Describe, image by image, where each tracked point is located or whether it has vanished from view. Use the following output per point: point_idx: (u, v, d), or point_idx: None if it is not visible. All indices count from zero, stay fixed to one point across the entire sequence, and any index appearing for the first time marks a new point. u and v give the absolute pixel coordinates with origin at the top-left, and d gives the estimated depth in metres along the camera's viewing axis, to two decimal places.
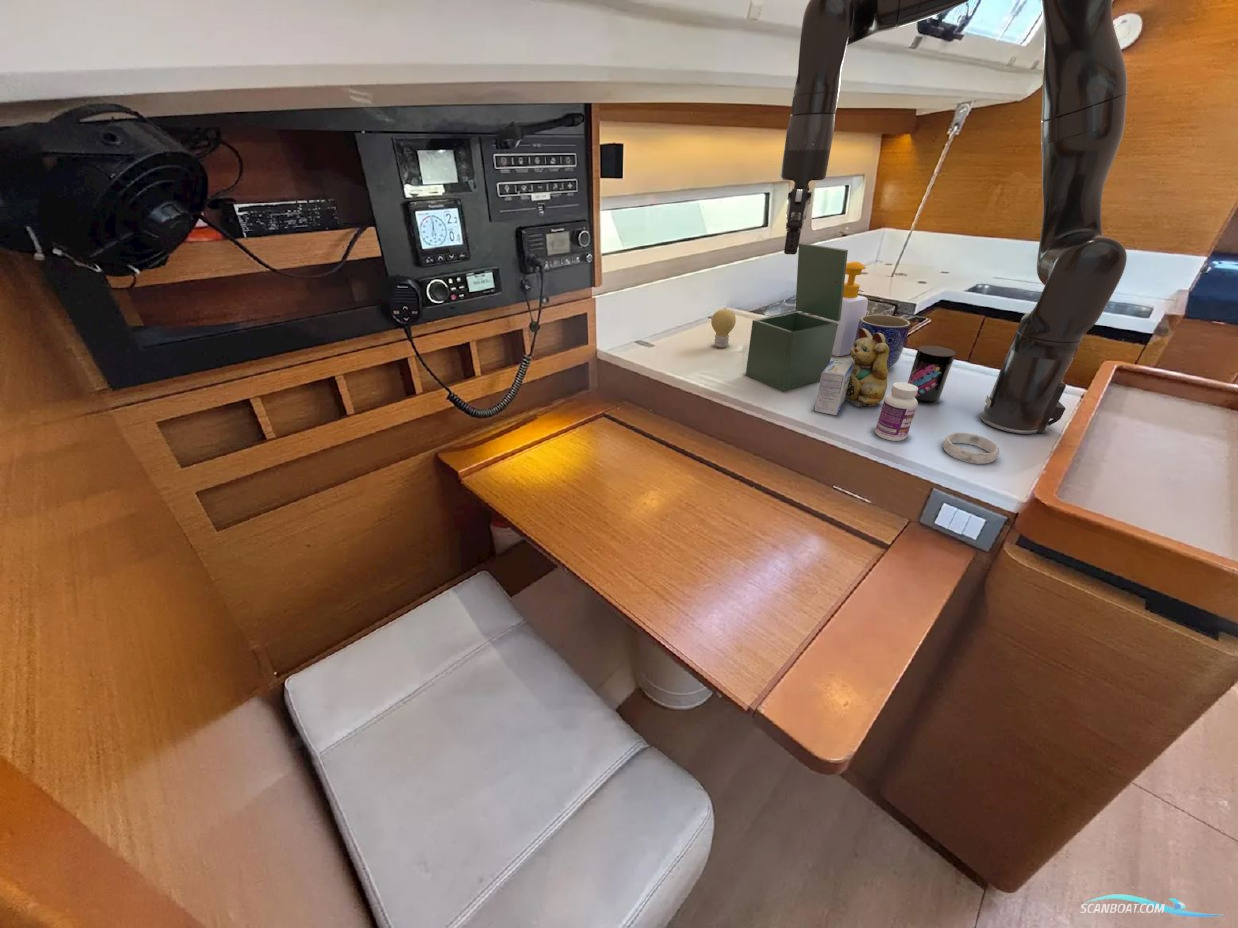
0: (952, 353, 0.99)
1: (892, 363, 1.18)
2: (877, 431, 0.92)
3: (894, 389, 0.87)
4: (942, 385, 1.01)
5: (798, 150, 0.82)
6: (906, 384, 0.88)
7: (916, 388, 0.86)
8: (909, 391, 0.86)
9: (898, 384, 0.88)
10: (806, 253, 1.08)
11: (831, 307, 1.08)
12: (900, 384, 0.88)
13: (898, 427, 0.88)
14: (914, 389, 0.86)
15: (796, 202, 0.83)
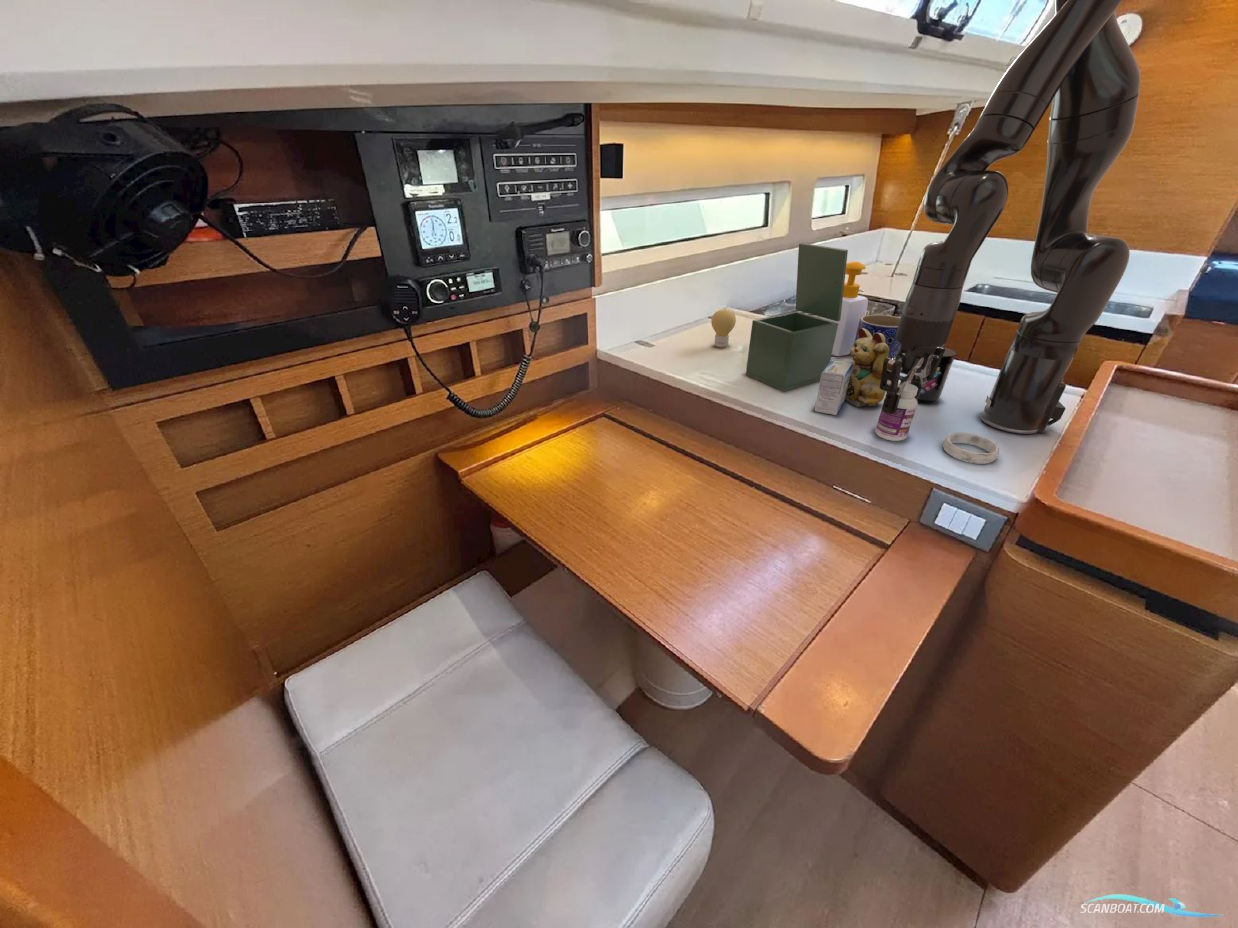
0: (952, 353, 0.99)
1: None
2: (877, 431, 0.92)
3: None
4: (942, 385, 1.01)
5: (907, 316, 0.80)
6: (906, 384, 0.88)
7: (916, 388, 0.86)
8: (909, 391, 0.86)
9: (898, 384, 0.88)
10: (806, 253, 1.08)
11: (831, 307, 1.08)
12: None
13: (898, 427, 0.88)
14: (914, 389, 0.86)
15: (888, 371, 0.82)
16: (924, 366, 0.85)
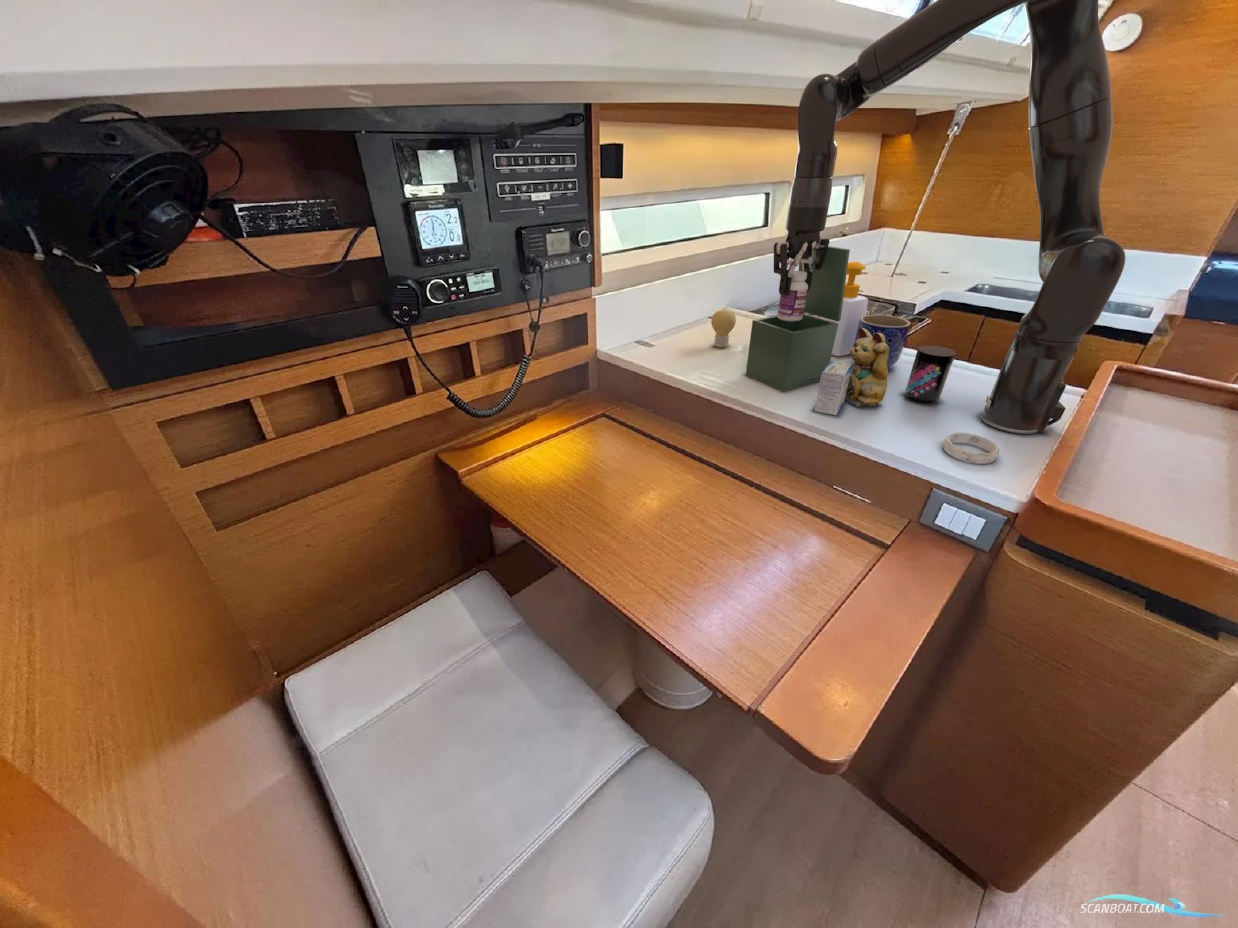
0: (952, 353, 0.99)
1: (892, 363, 1.18)
2: (778, 315, 1.08)
3: None
4: (942, 385, 1.01)
5: (790, 206, 0.97)
6: (798, 271, 1.05)
7: (805, 273, 1.03)
8: (798, 274, 1.02)
9: None
10: None
11: (831, 307, 1.08)
12: None
13: (792, 308, 1.05)
14: (803, 273, 1.03)
15: (777, 254, 0.99)
16: (810, 252, 1.01)
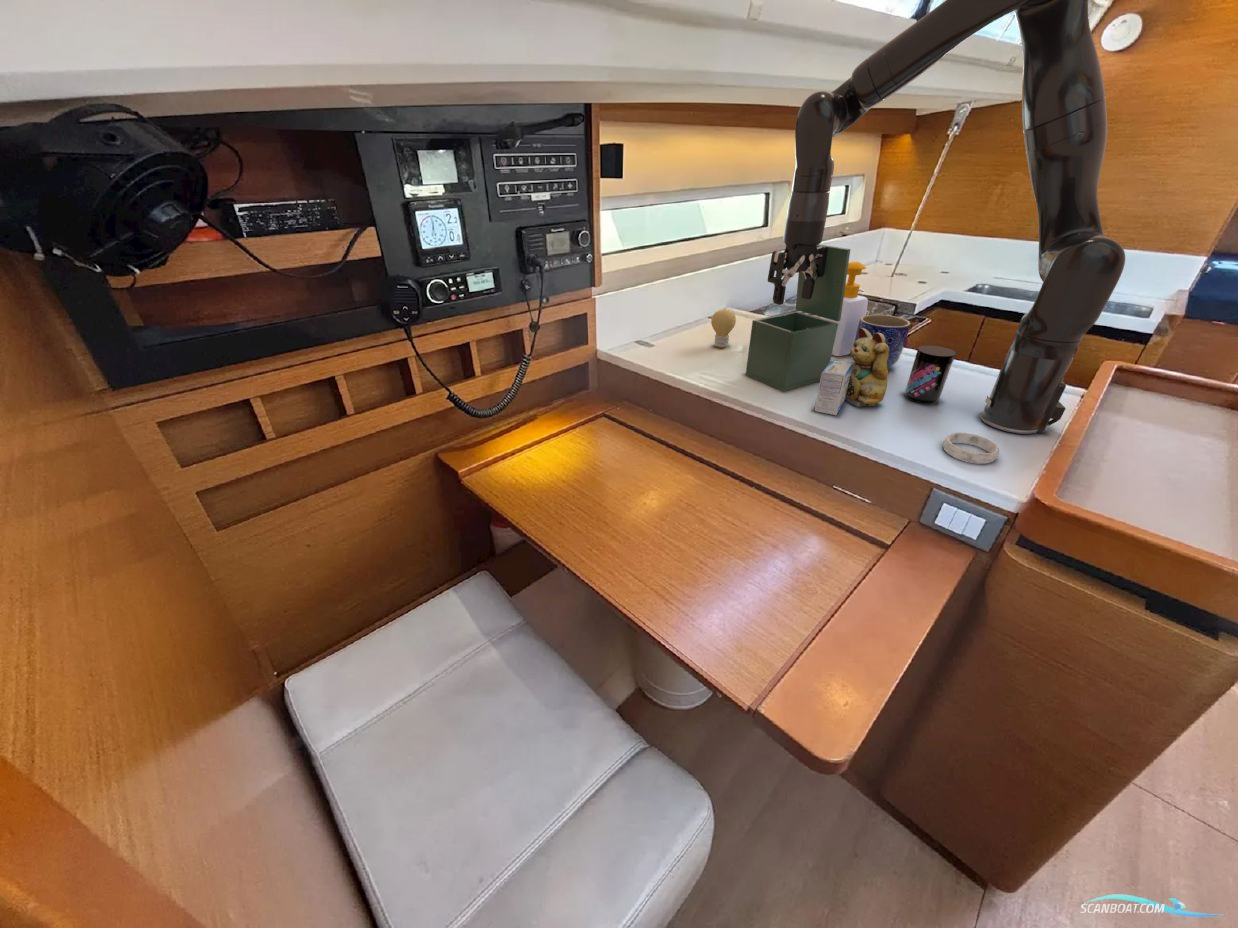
0: (952, 353, 0.99)
1: (892, 363, 1.18)
2: None
3: None
4: (942, 385, 1.01)
5: (788, 220, 0.98)
6: None
7: None
8: None
9: None
10: None
11: (831, 307, 1.08)
12: None
13: None
14: None
15: (774, 262, 1.00)
16: (809, 264, 1.03)
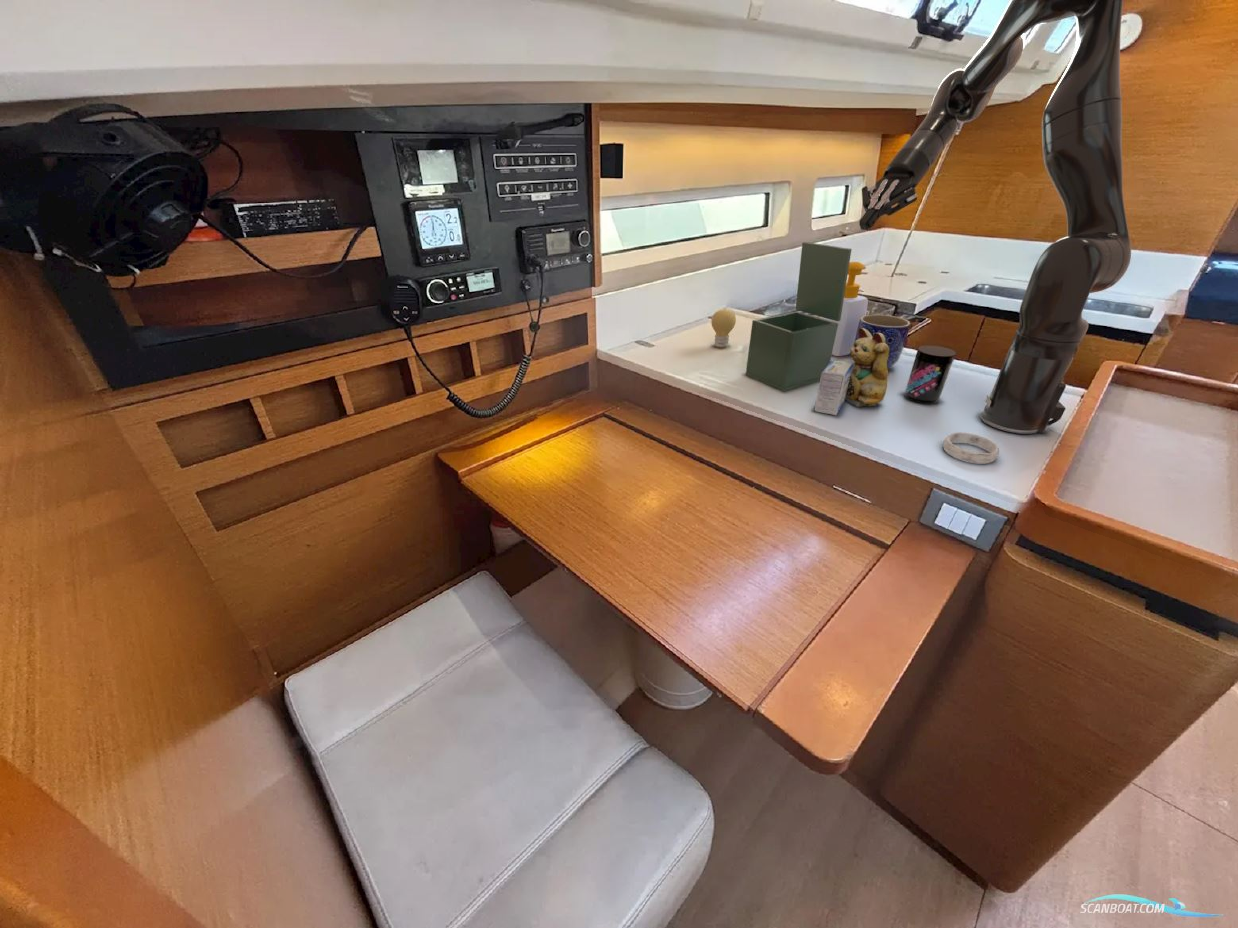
0: (952, 353, 0.99)
1: (892, 363, 1.18)
2: None
3: None
4: (942, 385, 1.01)
5: None
6: None
7: None
8: None
9: None
10: (809, 252, 1.08)
11: (832, 307, 1.08)
12: None
13: None
14: None
15: None
16: None
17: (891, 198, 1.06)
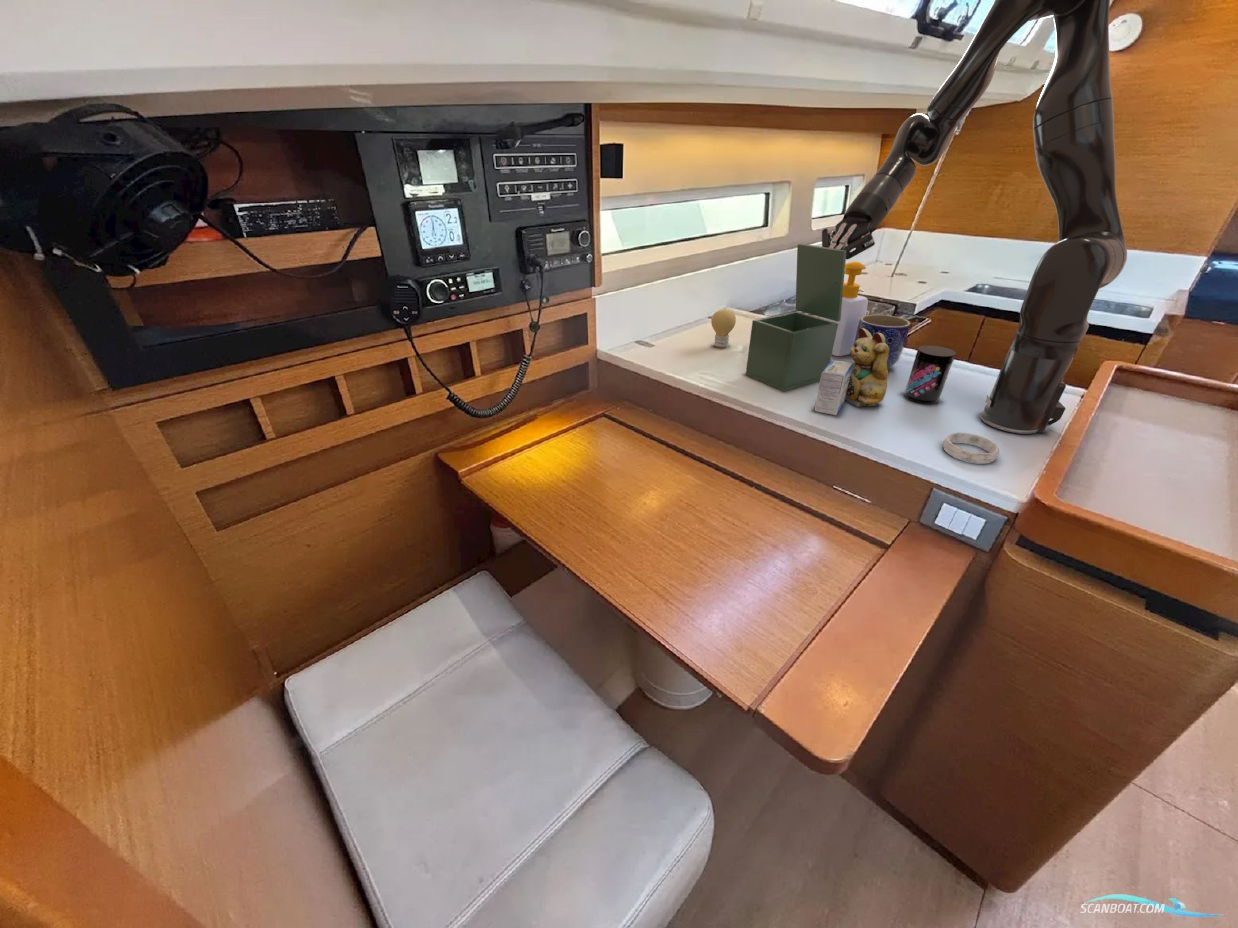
0: (952, 353, 0.99)
1: (892, 363, 1.18)
2: None
3: None
4: (942, 385, 1.01)
5: None
6: None
7: None
8: None
9: None
10: (805, 254, 1.08)
11: (831, 307, 1.08)
12: None
13: None
14: None
15: None
16: None
17: (849, 242, 1.06)
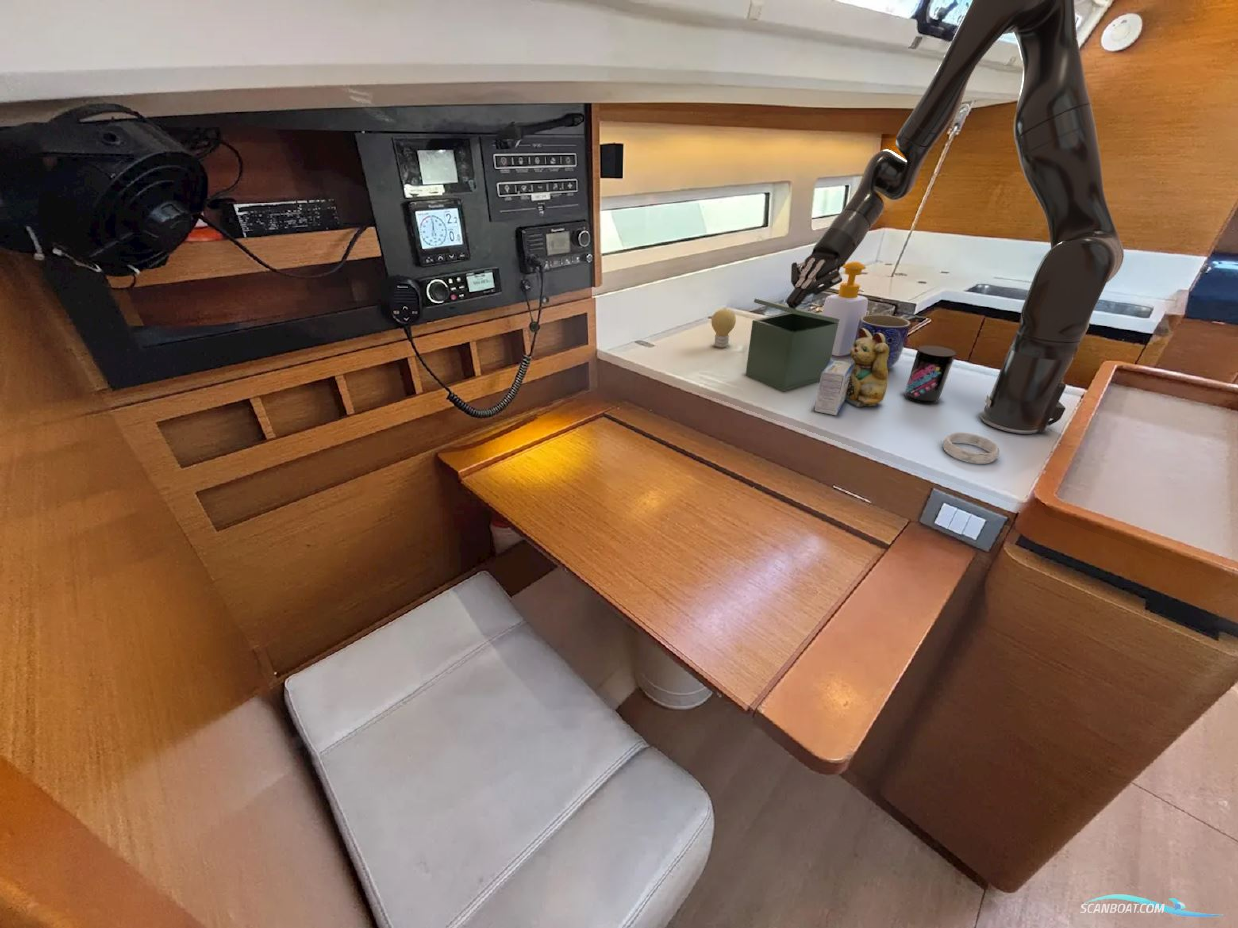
0: (952, 353, 0.99)
1: (892, 363, 1.18)
2: None
3: None
4: (942, 385, 1.01)
5: None
6: None
7: None
8: None
9: None
10: None
11: None
12: None
13: None
14: None
15: None
16: None
17: (817, 278, 1.05)
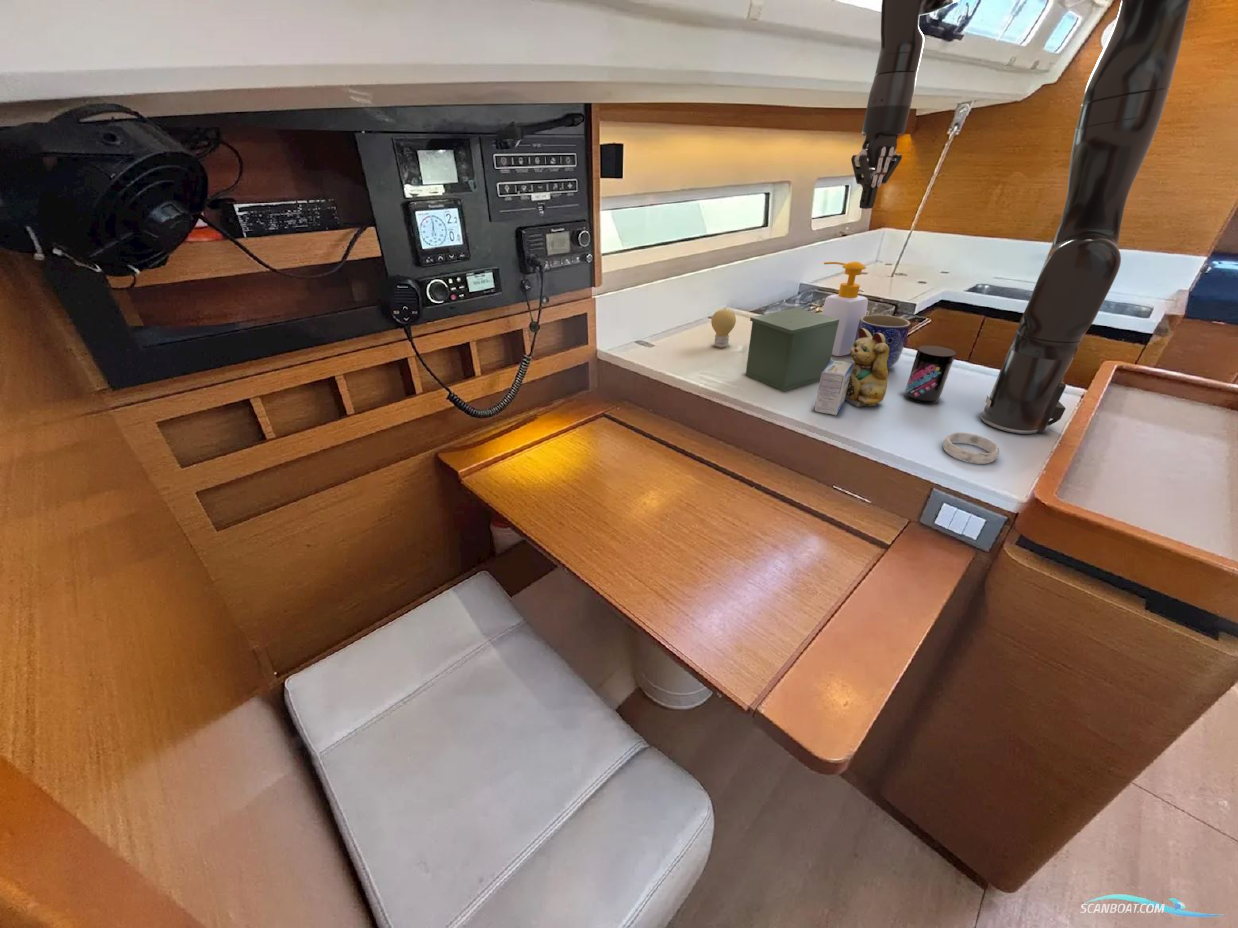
0: (952, 353, 0.99)
1: (892, 363, 1.18)
2: None
3: None
4: (942, 385, 1.01)
5: (870, 107, 0.93)
6: None
7: None
8: None
9: None
10: None
11: None
12: None
13: None
14: None
15: (857, 167, 0.97)
16: (885, 159, 0.97)
17: None
